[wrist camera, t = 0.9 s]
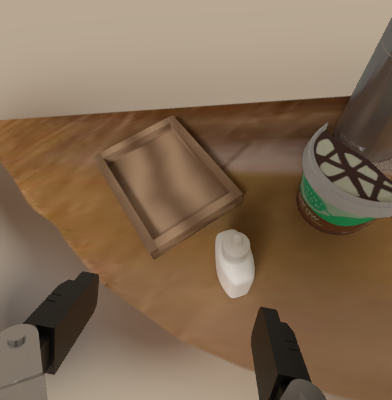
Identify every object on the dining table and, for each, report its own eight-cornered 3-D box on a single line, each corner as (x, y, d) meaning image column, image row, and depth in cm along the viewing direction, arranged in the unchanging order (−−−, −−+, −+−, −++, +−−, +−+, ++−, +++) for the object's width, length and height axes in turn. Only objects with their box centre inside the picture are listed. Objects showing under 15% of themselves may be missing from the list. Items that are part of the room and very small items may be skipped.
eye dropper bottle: (209, 293, 31) (203, 266, 21) (218, 248, 34) (217, 204, 24) (246, 302, 31) (259, 278, 20) (253, 255, 33) (268, 213, 23)
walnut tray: (174, 126, 45) (172, 115, 43) (241, 202, 37) (243, 193, 35) (99, 166, 42) (92, 156, 40) (153, 259, 34) (149, 253, 32)
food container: (267, 193, 37) (282, 145, 29) (300, 171, 39) (323, 119, 30) (337, 264, 32) (381, 233, 23) (372, 236, 33) (426, 197, 25)
